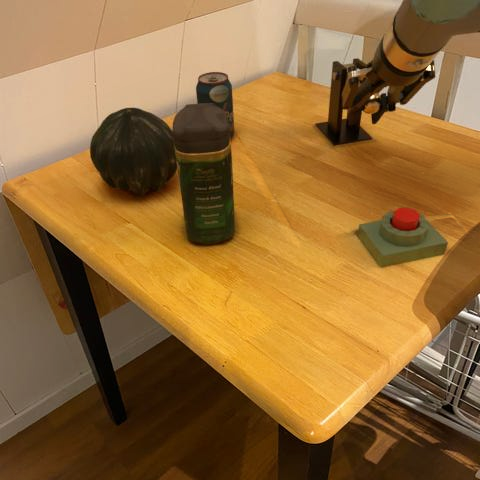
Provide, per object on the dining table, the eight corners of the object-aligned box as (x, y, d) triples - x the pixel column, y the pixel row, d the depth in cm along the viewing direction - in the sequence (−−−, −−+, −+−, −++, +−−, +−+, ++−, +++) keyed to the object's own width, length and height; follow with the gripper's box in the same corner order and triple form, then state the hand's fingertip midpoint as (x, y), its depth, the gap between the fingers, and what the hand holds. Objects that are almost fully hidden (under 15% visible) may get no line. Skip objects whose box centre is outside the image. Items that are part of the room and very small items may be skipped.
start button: (409, 215, 71) (412, 205, 70) (422, 229, 69) (424, 218, 68) (386, 220, 71) (389, 209, 70) (398, 234, 68) (401, 223, 67)
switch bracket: (371, 144, 95) (383, 69, 85) (333, 151, 94) (340, 75, 84) (350, 124, 102) (359, 52, 92) (314, 129, 101) (319, 57, 91)
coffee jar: (237, 244, 74) (230, 125, 61) (186, 248, 74) (167, 129, 61) (234, 210, 81) (227, 95, 68) (186, 213, 81) (170, 99, 68)
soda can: (234, 145, 98) (231, 83, 89) (200, 147, 98) (193, 84, 89) (234, 130, 102) (231, 69, 94) (202, 132, 103) (195, 71, 94)
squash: (122, 127, 93) (83, 85, 78) (196, 136, 90) (169, 95, 75) (107, 199, 93) (64, 171, 78) (180, 211, 90) (150, 184, 75)
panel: (416, 224, 76) (422, 202, 73) (444, 254, 70) (451, 231, 67) (357, 236, 74) (360, 213, 72) (380, 267, 69) (385, 244, 66)
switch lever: (382, 116, 84) (387, 96, 82) (363, 119, 84) (367, 99, 81) (353, 78, 92) (357, 59, 89) (335, 81, 91) (338, 61, 89)
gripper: (350, 79, 66) (318, 141, 89) (471, 69, 66) (408, 134, 90) (345, 23, 66) (315, 100, 89) (466, 15, 66) (404, 93, 90)
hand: (361, 117), depth 90 cm, fingers closed on switch lever, 4 cm apart
